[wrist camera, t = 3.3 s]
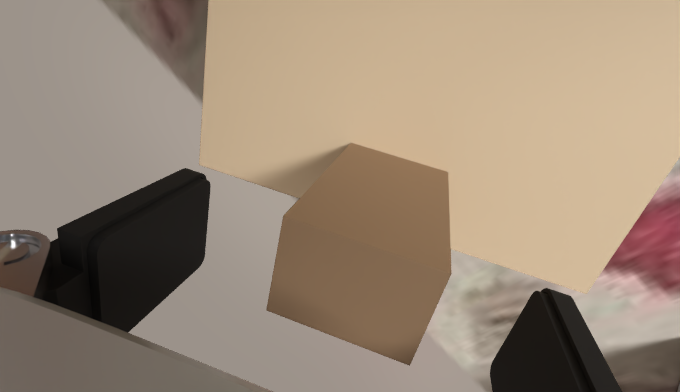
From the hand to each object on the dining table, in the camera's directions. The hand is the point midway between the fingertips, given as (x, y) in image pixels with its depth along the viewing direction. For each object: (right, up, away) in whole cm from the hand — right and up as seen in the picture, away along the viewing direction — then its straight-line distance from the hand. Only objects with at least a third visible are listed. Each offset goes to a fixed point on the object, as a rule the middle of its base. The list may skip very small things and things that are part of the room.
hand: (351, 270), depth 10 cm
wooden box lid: (+3, +7, +3) cm, 8 cm away
